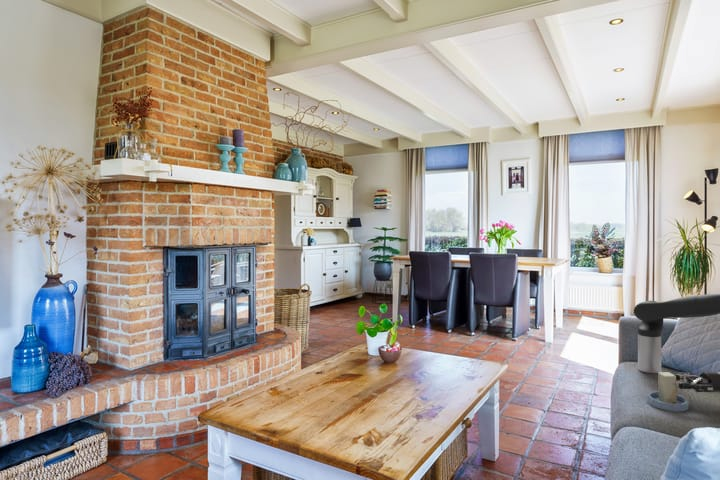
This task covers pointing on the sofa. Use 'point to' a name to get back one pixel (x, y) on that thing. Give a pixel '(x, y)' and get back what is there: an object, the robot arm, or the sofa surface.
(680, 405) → the dish
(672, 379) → the box
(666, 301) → the robot arm
